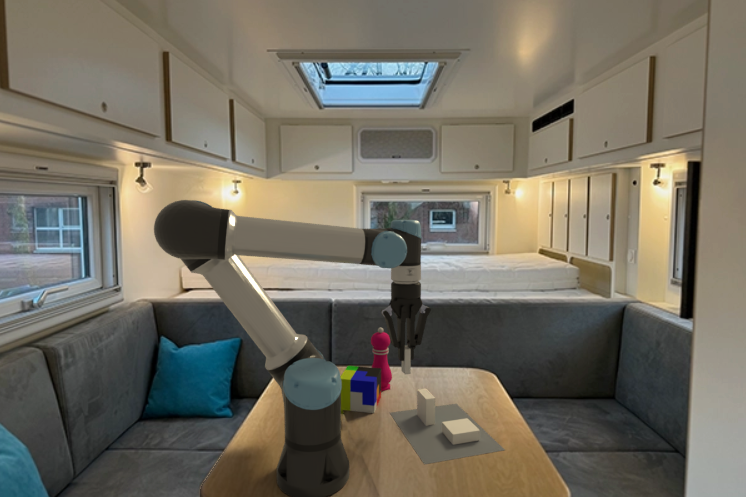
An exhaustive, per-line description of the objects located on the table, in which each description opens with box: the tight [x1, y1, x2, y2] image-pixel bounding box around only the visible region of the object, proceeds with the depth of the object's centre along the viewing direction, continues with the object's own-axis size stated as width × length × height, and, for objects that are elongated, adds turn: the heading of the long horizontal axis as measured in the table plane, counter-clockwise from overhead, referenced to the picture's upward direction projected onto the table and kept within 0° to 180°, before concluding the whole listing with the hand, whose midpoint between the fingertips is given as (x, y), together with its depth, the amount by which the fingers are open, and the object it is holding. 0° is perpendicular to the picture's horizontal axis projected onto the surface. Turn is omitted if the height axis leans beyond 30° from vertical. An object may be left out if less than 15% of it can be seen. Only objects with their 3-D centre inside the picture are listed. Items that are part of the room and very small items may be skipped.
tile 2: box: [442, 418, 480, 445], centre depth 101 cm, size 6×3×7 cm
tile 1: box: [416, 388, 436, 426], centre depth 109 cm, size 6×3×7 cm, turn 16°
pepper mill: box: [370, 327, 393, 392], centre depth 129 cm, size 7×7×20 cm
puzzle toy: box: [340, 365, 382, 415], centre depth 118 cm, size 10×10×10 cm
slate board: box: [389, 403, 506, 465], centre depth 104 cm, size 24×20×1 cm
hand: (405, 372), depth 107 cm, fingers closed
